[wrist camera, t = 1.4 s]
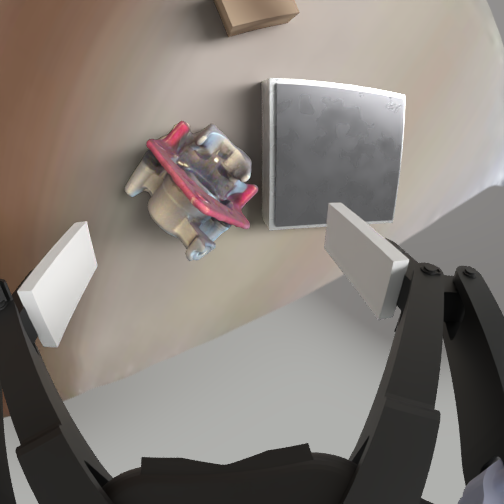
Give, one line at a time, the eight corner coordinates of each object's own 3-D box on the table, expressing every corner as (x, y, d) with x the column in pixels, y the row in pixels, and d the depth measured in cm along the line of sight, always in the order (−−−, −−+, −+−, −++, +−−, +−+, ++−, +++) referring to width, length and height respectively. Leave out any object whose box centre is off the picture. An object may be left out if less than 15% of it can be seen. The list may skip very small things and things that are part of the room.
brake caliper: (295, 164, 27) (260, 270, 20) (225, 208, 35) (183, 296, 28) (205, 80, 22) (121, 160, 15) (150, 145, 30) (85, 226, 23)
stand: (261, 217, 31) (270, 232, 28) (261, 81, 25) (270, 77, 21) (377, 211, 33) (395, 224, 30) (386, 94, 27) (408, 95, 23)
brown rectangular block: (228, 37, 23) (232, 26, 19) (211, -3, 20) (213, -18, 17) (286, 23, 22) (299, 12, 19) (270, -16, 20) (280, -31, 17)
